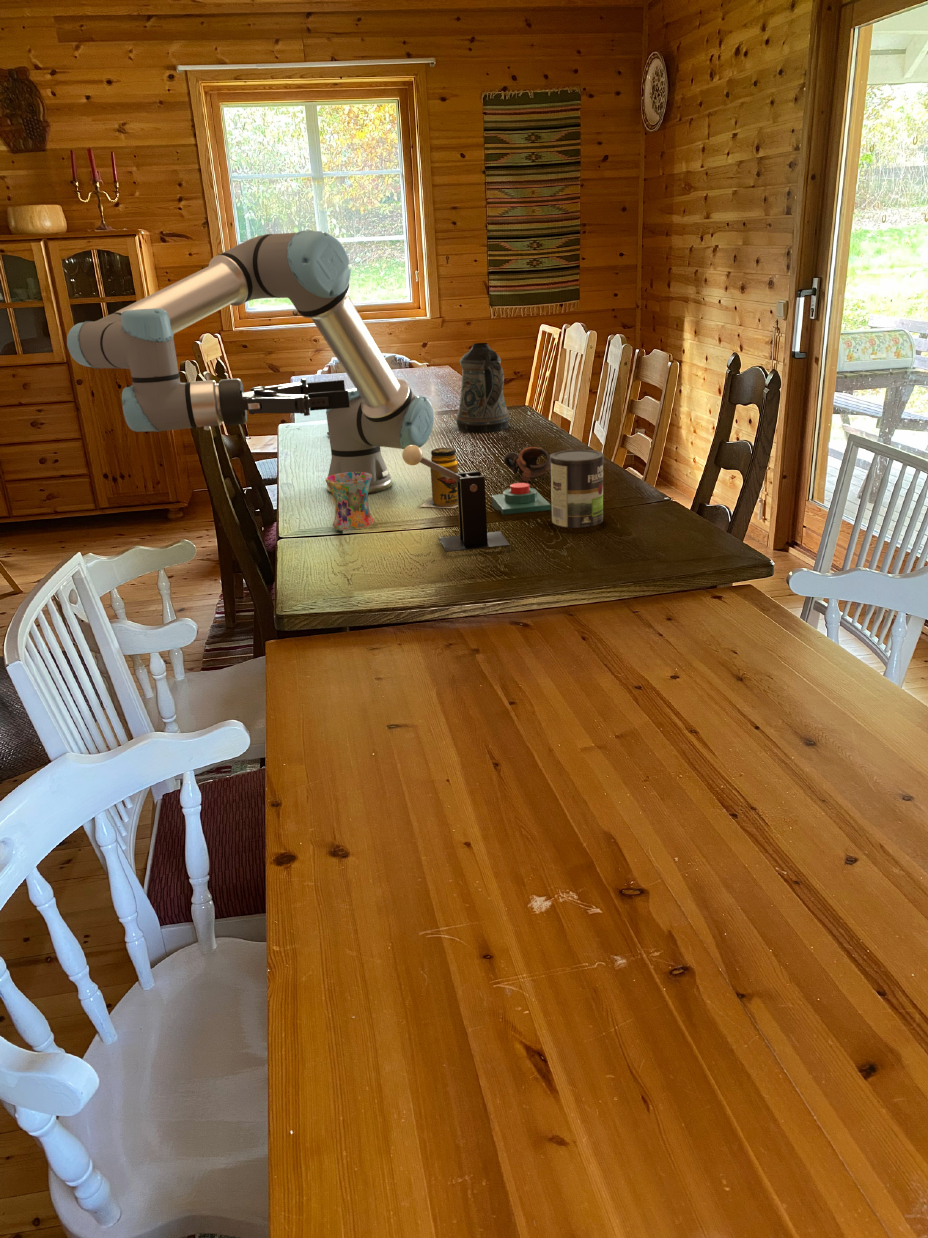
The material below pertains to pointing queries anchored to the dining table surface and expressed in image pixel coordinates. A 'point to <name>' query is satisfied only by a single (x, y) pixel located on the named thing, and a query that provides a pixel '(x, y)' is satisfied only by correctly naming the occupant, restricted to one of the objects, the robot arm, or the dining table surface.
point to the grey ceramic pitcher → (482, 392)
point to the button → (520, 488)
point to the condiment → (443, 480)
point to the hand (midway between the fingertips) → (346, 392)
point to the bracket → (472, 517)
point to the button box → (519, 502)
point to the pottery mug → (528, 462)
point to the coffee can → (577, 488)
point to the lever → (426, 461)
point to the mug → (350, 499)
